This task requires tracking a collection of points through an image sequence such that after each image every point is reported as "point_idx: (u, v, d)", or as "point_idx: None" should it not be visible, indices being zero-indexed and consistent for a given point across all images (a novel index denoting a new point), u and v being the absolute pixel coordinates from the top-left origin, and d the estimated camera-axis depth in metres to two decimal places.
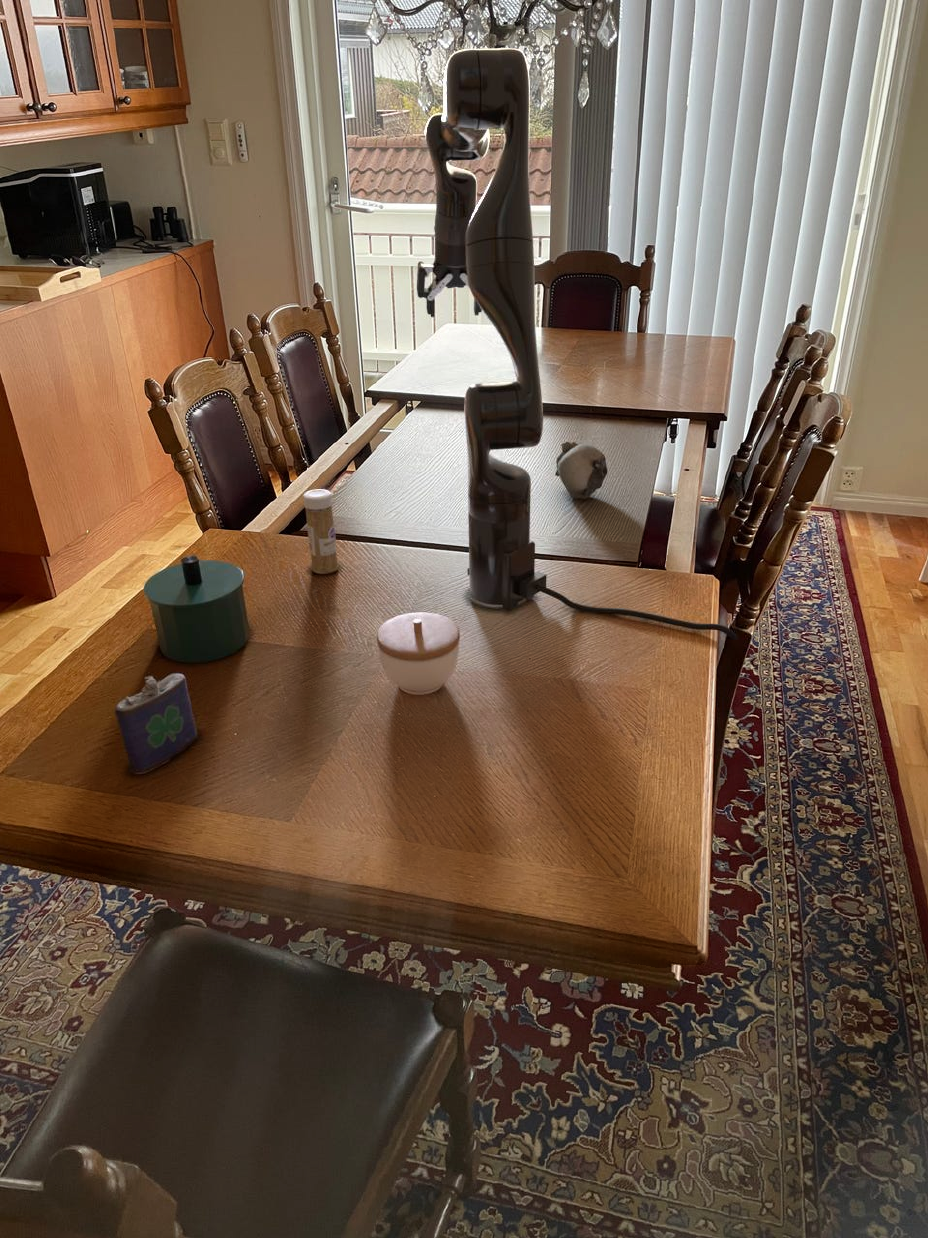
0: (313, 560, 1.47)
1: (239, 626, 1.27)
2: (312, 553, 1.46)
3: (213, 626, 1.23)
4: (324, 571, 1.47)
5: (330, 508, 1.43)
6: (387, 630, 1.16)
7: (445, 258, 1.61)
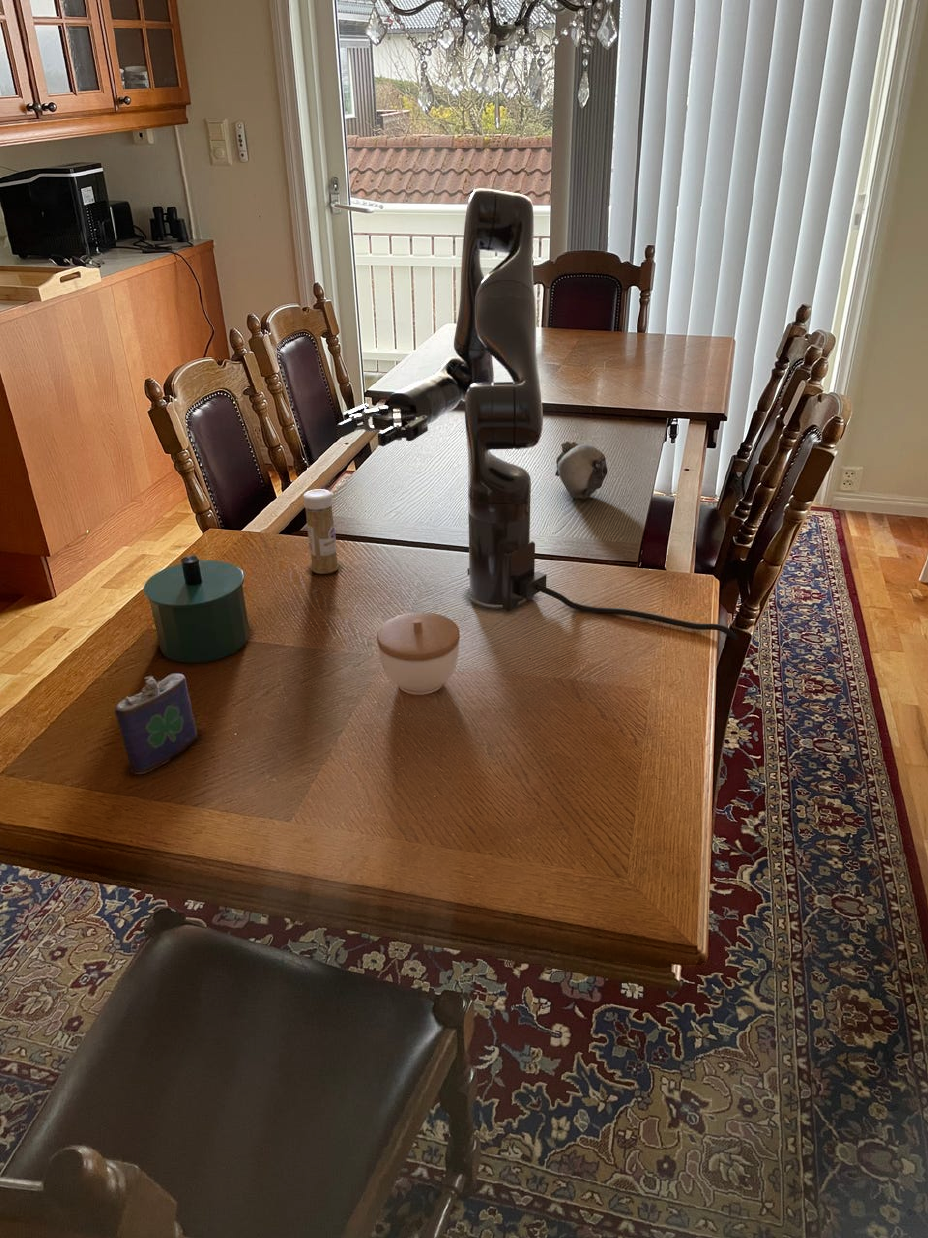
0: (313, 560, 1.47)
1: (239, 626, 1.27)
2: (312, 553, 1.46)
3: (213, 626, 1.23)
4: (324, 571, 1.47)
5: (330, 508, 1.43)
6: (387, 630, 1.16)
7: None
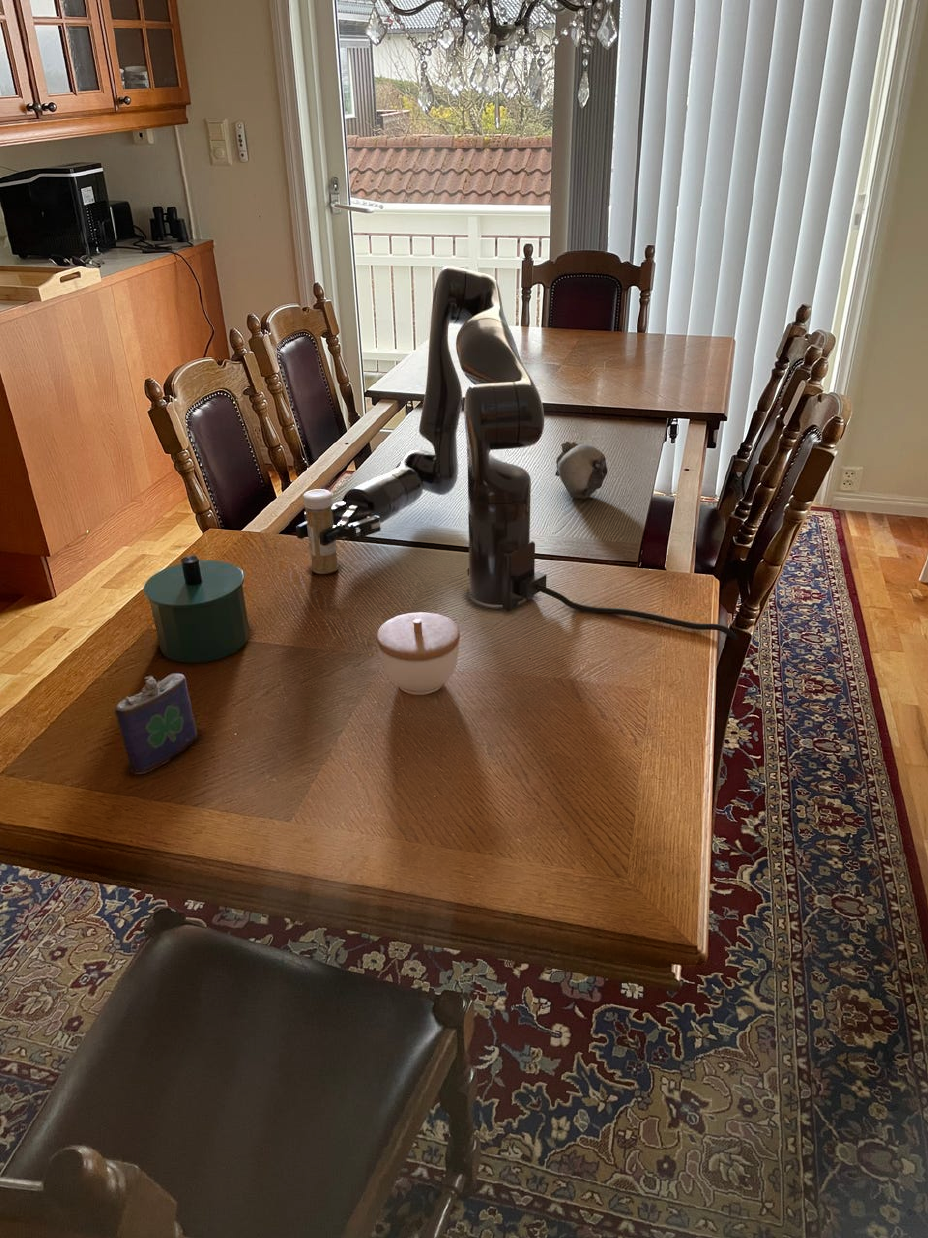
0: (313, 560, 1.47)
1: (239, 626, 1.27)
2: (312, 553, 1.46)
3: (213, 626, 1.23)
4: (324, 571, 1.47)
5: (330, 508, 1.43)
6: (387, 630, 1.16)
7: None
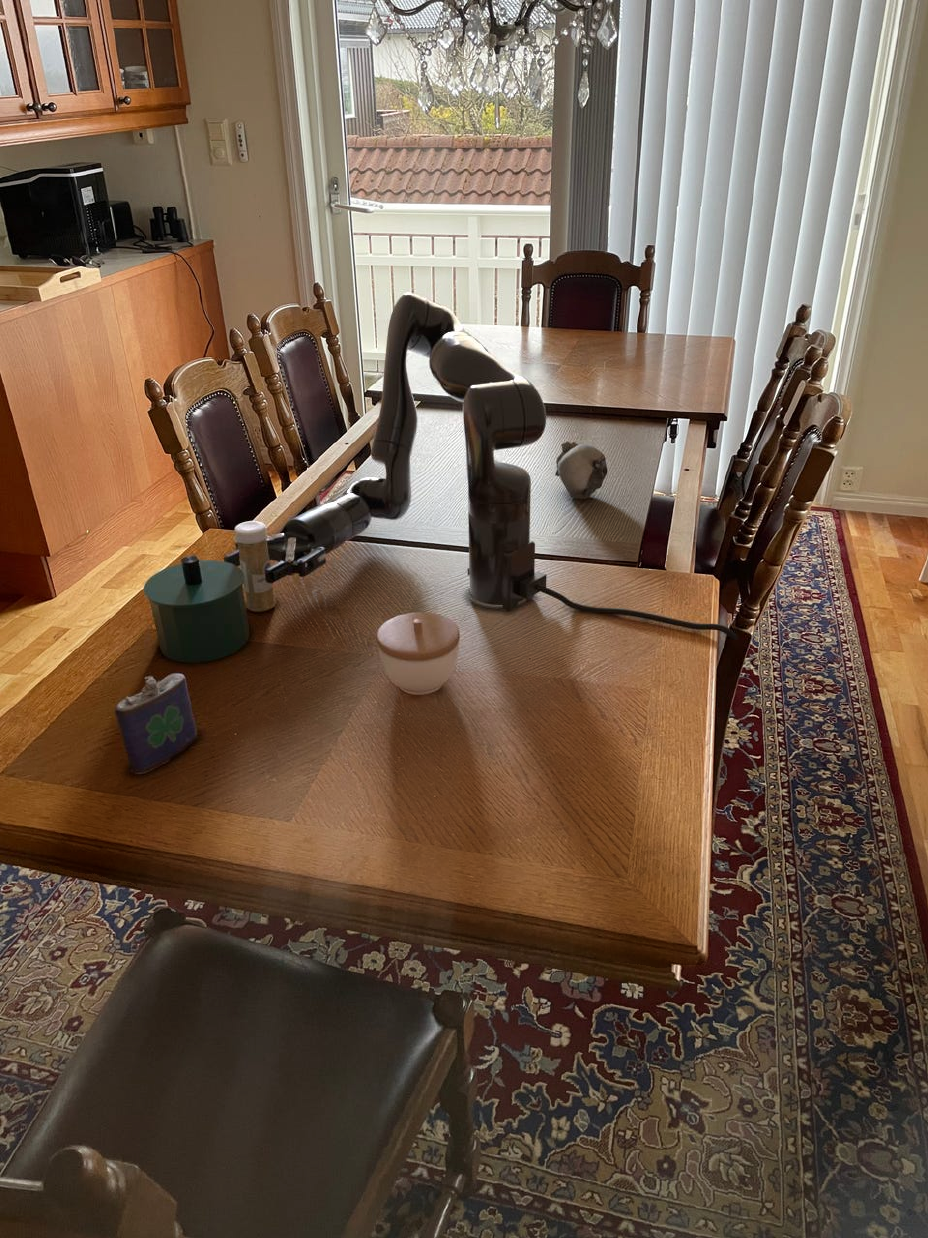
0: (247, 597, 1.37)
1: (239, 626, 1.27)
2: (246, 590, 1.36)
3: (213, 626, 1.23)
4: (259, 609, 1.37)
5: (264, 542, 1.33)
6: (387, 630, 1.16)
7: None
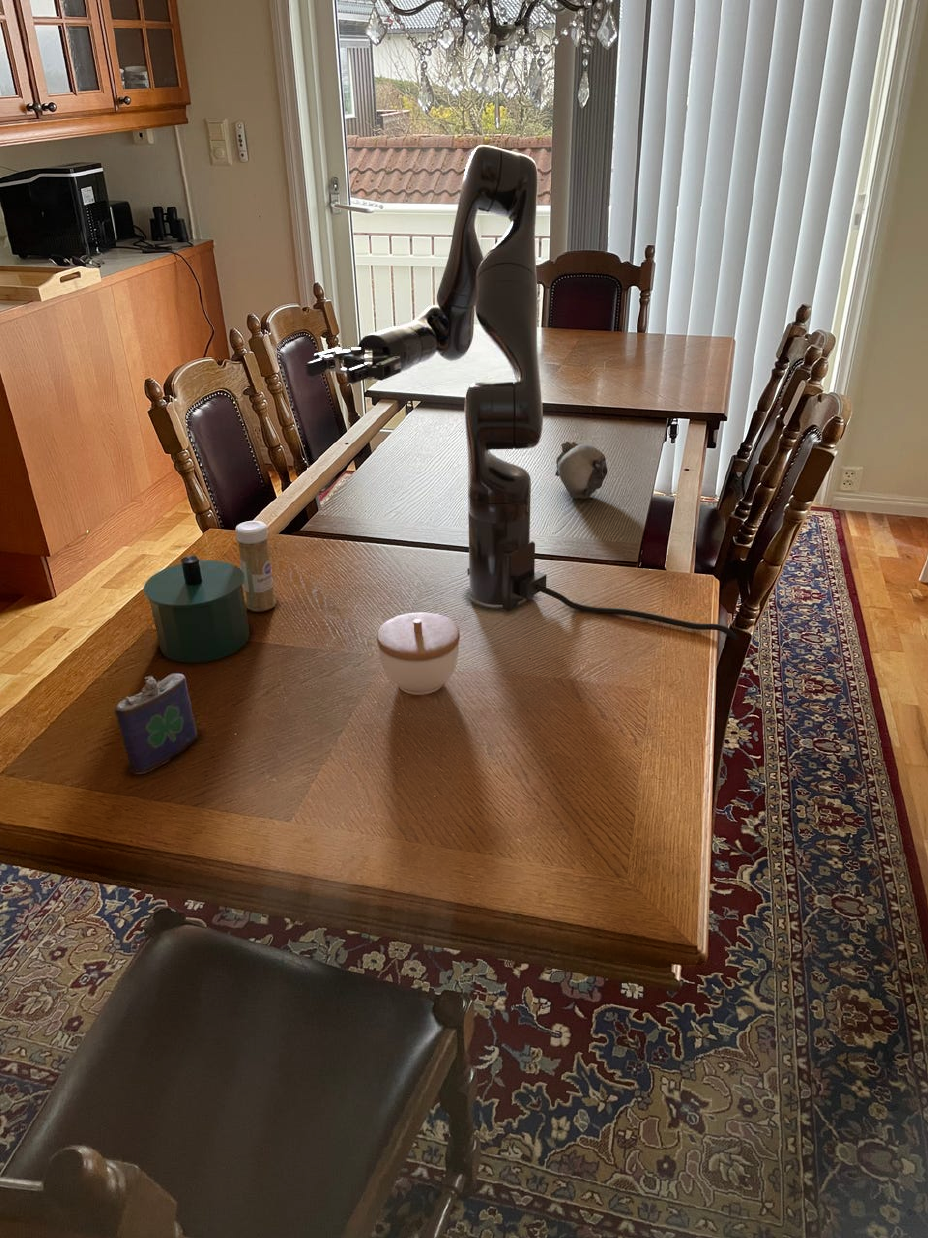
0: (247, 596, 1.37)
1: (239, 626, 1.27)
2: (246, 589, 1.36)
3: (213, 626, 1.23)
4: (259, 609, 1.37)
5: (264, 542, 1.33)
6: (387, 630, 1.16)
7: None
